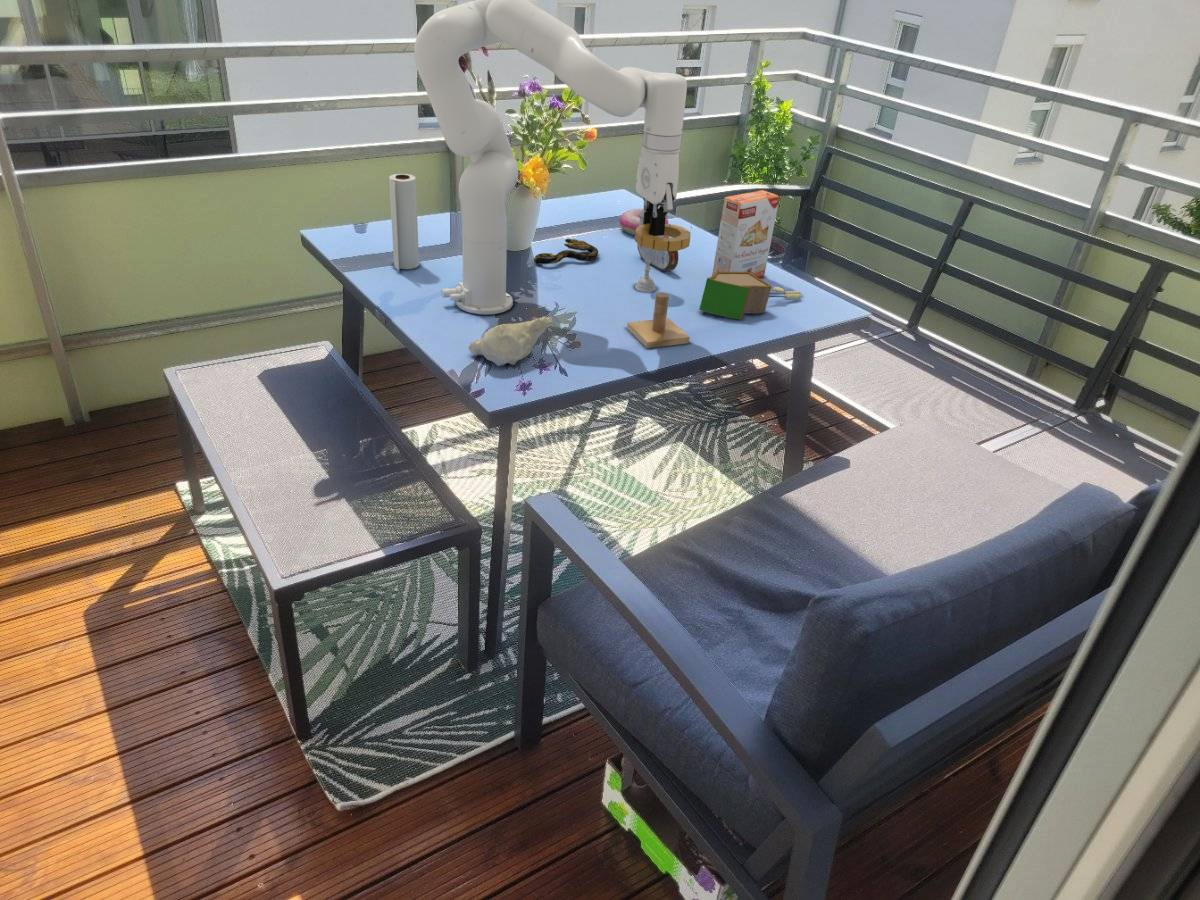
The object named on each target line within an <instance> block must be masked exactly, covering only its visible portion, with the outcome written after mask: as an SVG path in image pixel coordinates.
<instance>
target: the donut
mask: <svg viewBox="0 0 1200 900" xmlns="http://www.w3.org/2000/svg"><path fill="white" fill-rule="evenodd" d="M641 210H644V208H632V209H628V210H626V211H625V212H623V213H621V215H620V217H619V226H620V228H621V229H622V230H623V231H624V232H625V233H627V234H629V235H632V236H635V234H636V229H637V227H638V226H639V224H640V217H639V214H638V213H639V211H641ZM665 224H669V221H668V217H667V218H666V220H665Z"/></svg>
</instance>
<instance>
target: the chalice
mask: <svg viewBox="0 0 1200 900" xmlns="http://www.w3.org/2000/svg"><path fill="white" fill-rule="evenodd" d="M644 212H646V211H644V210H641V211H639V213H638V214H639V217H640V224H639V226H641V225H643V220H644ZM668 214H669V213H667V217H666V218H667V219H668V216H669V215H668ZM655 237H660V238H663V236H655ZM642 248H643V251H644V252H645V253H647V258H646V260H644V262H645V266H644V267H643V270H644V275H643V276H641V277H640V278H639V279H638V280H637V282H636V284H635V286H634V288H635V290H637V291H639V292H643V293H651V292H655V291H656V289H657V288H656V286H655V285H656V284H655V280H653V278H651V277H650V274H649V273H650V271H651V270H652V268H651V264H650V263H651V258H650V256H651V254H652V253H655V251H656V250H654V249H649V248H646V247H643V246H642Z"/></svg>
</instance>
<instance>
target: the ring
mask: <svg viewBox="0 0 1200 900" xmlns="http://www.w3.org/2000/svg"><path fill="white" fill-rule="evenodd" d="M649 230H650V223H649V224H643V225H641V226H638V227H637V229H636V234H635V235H634V242H635V243H636V244H637V243H638V244H639V245H640V246H643V247H646V248H649V249H654V250H660V251H667V250H668V251H677V250H678V251H682V250H685V249H687V248H689V247H690V243H691V235H692V233H691V231H690V230H688V229H687V228H685V227H683V226H680V225H677V224H672V223H668V224H665V230H664V235H662V236H668V237H670V238H660V237H655V236H652V235H649Z"/></svg>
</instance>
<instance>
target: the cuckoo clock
mask: <svg viewBox="0 0 1200 900" xmlns="http://www.w3.org/2000/svg"><path fill="white" fill-rule="evenodd" d="M772 291H773V292H772ZM775 292H776V293H775ZM769 298H784V299H785V300H800V299H801V298H802V292H801V291H799V290H795V291H794V290H792V291H791V290H787V291H786V290H785V289H784V288H782V287H780V286H774V287H773V285H771V284H770V283H768V282H766V281H764V280H763V279H761V278H758V277H756V276H755V275H753V274H751V273H750V272H719V270H717V271H716V273H715V274H714V275H713V276H712V275H711V276H708V277H707V278H706V281H705V285H704V290H703V294H702V296H701V302H700V305H699V310H700V311H702V312H705V313H708V314H713V315H716V316H721V317H725V318H730V319H735V320H740V321H742V319H743V316H744V314H757V315H758V314H764V313H765V311H766V308H767V305H768V302H769Z"/></svg>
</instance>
